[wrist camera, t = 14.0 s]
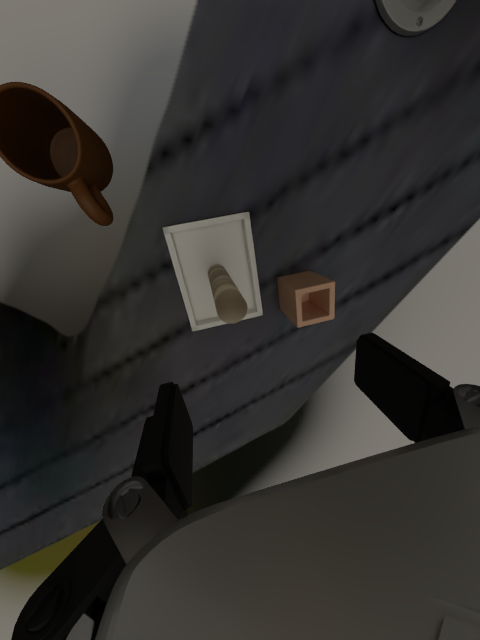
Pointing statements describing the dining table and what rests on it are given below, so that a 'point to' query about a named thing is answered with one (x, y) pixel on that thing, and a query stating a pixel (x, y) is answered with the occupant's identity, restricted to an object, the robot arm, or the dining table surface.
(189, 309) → the plastic tray
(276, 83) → the dining table surface
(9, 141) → the mug
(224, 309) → the beech dowel
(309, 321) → the terracotta cup
